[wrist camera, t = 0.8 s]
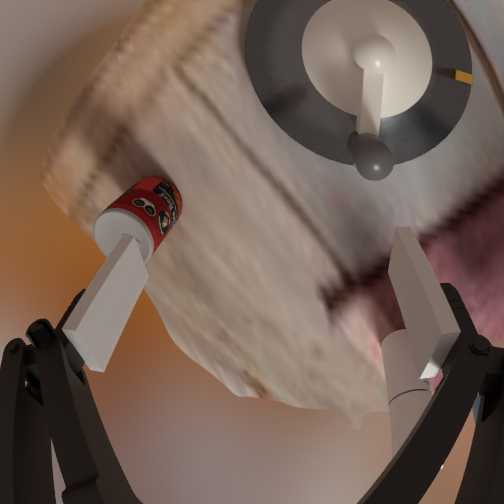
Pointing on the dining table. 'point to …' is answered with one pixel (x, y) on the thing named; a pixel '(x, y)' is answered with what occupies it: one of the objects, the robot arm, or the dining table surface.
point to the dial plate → (334, 119)
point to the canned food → (140, 216)
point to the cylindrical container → (403, 387)
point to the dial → (367, 70)
